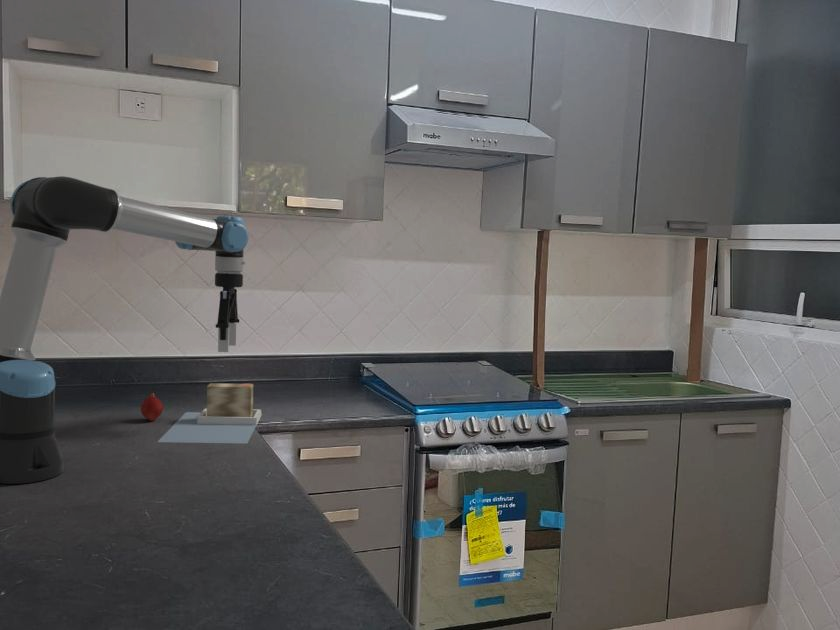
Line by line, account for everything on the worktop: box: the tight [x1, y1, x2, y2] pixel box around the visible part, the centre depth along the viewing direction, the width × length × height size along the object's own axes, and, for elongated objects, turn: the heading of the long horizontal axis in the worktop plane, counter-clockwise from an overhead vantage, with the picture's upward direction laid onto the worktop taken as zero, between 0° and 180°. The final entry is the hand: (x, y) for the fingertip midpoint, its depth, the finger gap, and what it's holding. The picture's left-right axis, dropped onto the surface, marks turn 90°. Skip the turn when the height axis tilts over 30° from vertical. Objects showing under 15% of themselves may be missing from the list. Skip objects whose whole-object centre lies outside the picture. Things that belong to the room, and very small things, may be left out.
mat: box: [157, 411, 263, 445], centre depth 206 cm, size 34×22×1 cm, turn 5°
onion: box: [140, 392, 164, 422], centre depth 210 cm, size 6×6×8 cm
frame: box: [197, 407, 262, 426], centre depth 214 cm, size 11×16×2 cm
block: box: [206, 382, 254, 417], centre depth 214 cm, size 12×5×10 cm, turn 95°
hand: (227, 348), depth 212 cm, fingers open, 13 cm apart
